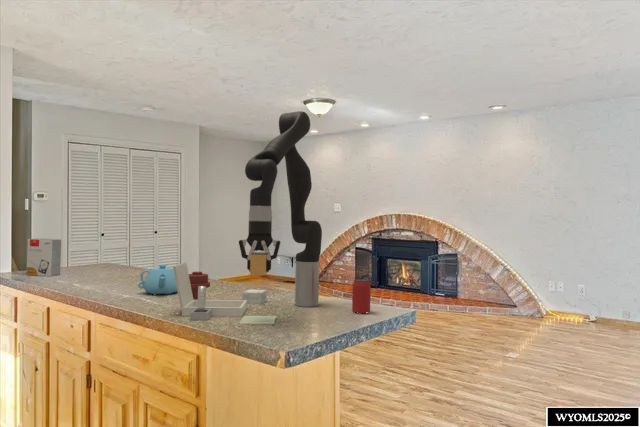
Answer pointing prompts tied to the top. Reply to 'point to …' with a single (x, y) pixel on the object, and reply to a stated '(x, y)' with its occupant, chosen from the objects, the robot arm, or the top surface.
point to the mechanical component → (198, 282)
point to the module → (258, 263)
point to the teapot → (159, 280)
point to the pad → (258, 320)
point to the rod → (201, 299)
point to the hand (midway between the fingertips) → (259, 271)
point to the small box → (255, 296)
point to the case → (212, 306)
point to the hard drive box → (43, 257)
